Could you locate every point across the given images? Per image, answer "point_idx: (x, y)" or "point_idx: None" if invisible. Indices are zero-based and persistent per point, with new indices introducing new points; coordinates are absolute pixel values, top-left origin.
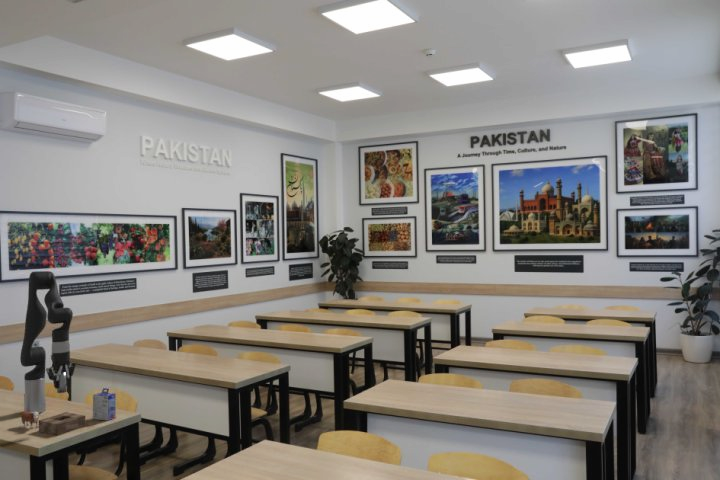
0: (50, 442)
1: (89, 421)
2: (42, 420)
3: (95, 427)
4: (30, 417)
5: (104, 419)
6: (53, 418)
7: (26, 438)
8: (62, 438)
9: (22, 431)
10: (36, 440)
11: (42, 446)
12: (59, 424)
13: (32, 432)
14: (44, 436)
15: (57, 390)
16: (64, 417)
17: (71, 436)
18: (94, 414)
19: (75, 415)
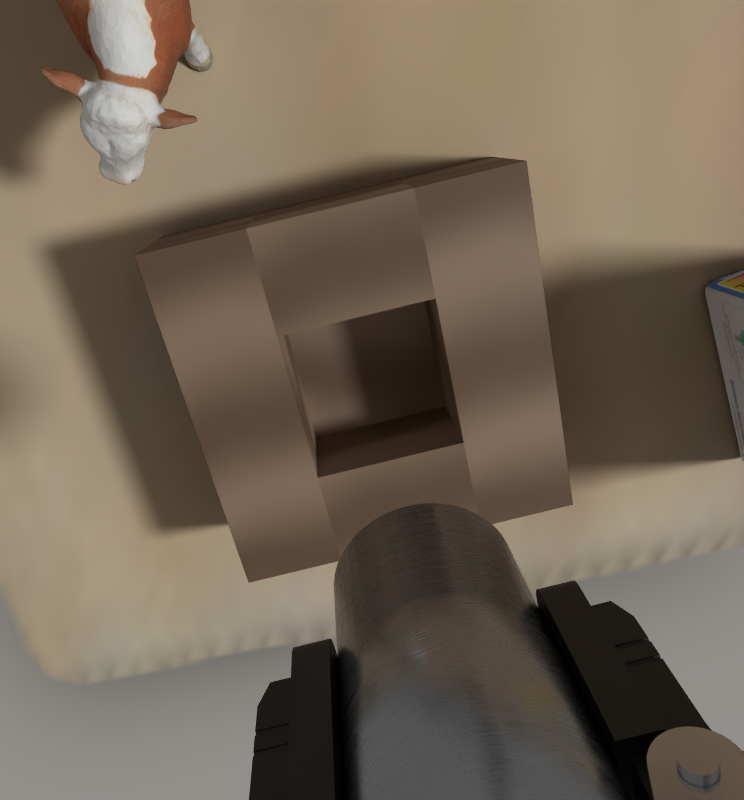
0: (150, 639)
1: (643, 330)
2: (171, 298)
3: (567, 549)
4: (72, 28)
5: (737, 427)
6: (298, 321)
7: (6, 376)
8: (255, 616)
9: (17, 71)
10: (70, 507)
11: (73, 681)
12: (266, 575)
13: (100, 218)
14: (158, 451)
15: (336, 628)
16: (433, 300)
17: (326, 621)
18: (738, 324)
19: (515, 412)
